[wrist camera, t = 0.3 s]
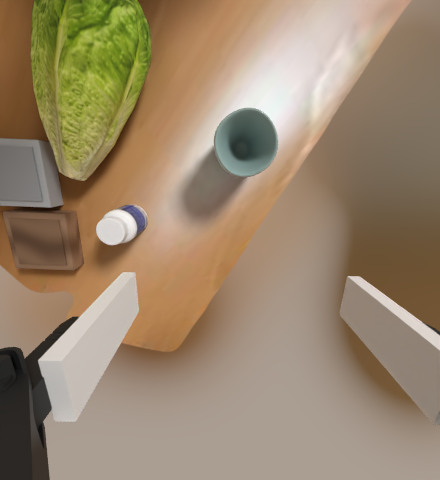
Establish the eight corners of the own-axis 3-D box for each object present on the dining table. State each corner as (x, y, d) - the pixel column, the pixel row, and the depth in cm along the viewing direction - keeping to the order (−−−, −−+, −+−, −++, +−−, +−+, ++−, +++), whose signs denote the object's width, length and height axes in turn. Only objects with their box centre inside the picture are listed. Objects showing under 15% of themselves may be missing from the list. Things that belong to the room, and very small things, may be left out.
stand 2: (18, 208, 39) (0, 212, 35) (75, 210, 39) (63, 214, 36) (30, 261, 42) (14, 269, 38) (83, 263, 42) (73, 270, 39)
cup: (228, 183, 38) (231, 188, 28) (206, 139, 36) (202, 127, 26) (270, 162, 37) (288, 158, 27) (250, 115, 35) (263, 93, 25)
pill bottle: (131, 197, 38) (107, 205, 30) (154, 219, 39) (137, 232, 31) (112, 218, 39) (83, 231, 31) (135, 238, 40) (113, 256, 32)
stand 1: (-11, 139, 35) (-33, 136, 32) (52, 142, 35) (36, 139, 32) (5, 202, 38) (-15, 205, 35) (63, 204, 38) (49, 207, 35)
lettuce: (6, 154, 31) (38, 192, 26) (26, -72, 23) (80, -90, 18) (93, 171, 41) (130, 201, 36) (128, 17, 33) (183, 24, 28)
